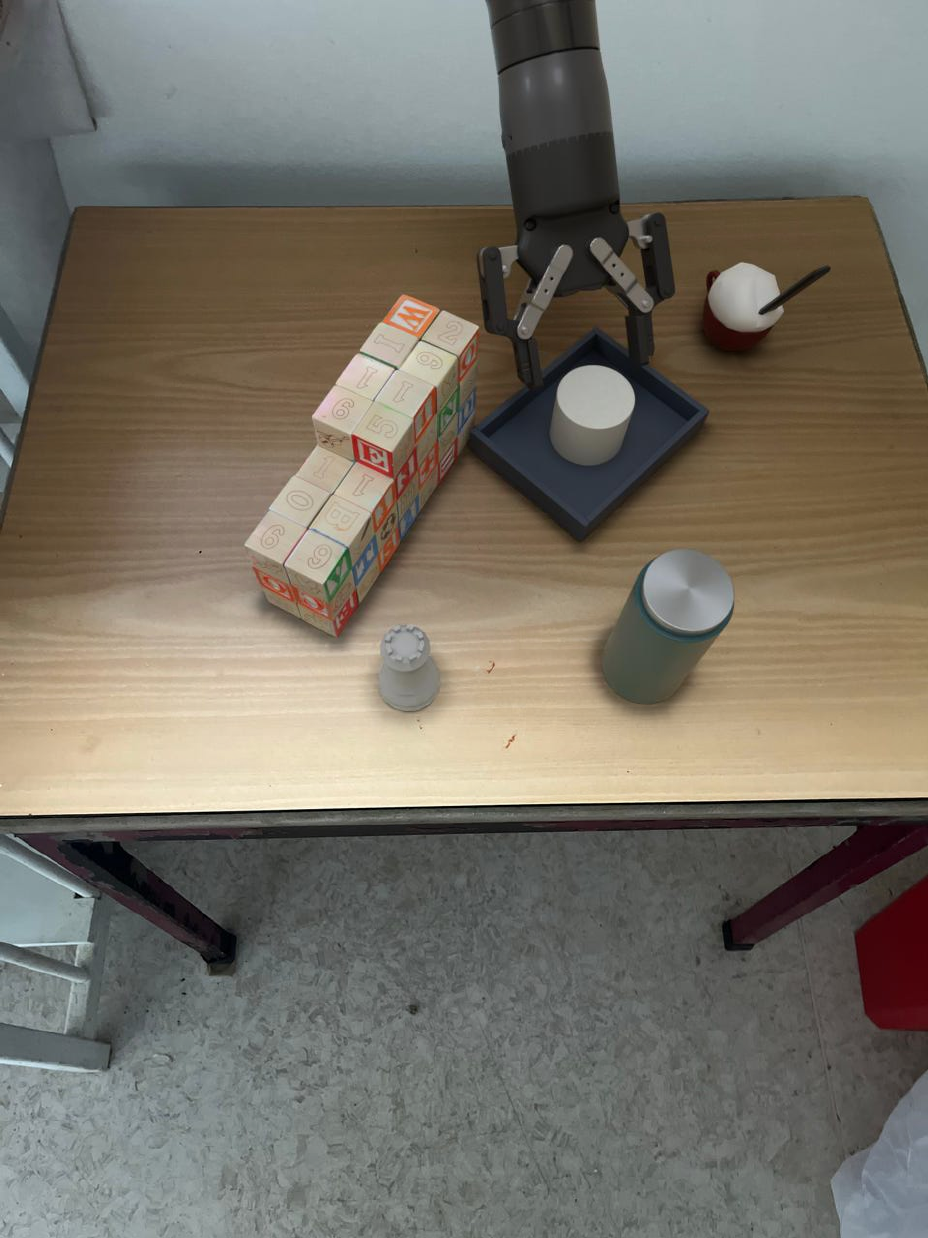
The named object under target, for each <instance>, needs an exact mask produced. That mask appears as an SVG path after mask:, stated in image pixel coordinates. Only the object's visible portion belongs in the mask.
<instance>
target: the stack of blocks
mask: <svg viewBox="0 0 928 1238" xmlns="http://www.w3.org/2000/svg"><path fill="white" fill-rule="evenodd" d="M479 344H480V326H479V325H478V324H475V323H474V322H470V321H468V320H466V319H464V318H461V317H459V316H457V315H455V314H453V313H451V312H448V311H446V310H442V311H441V310H440V308H438V307H436V306H434V305H431V304H429V303H427V302H425V301H423V300H419V299H418V298H415V297H413V296H410V295H407V294H404V293H403V294H401V296H400V297H399V298H398V299H397V301H396V302H395V303H394V305H393V306H392V308H391V309H390V310H389V311H388V313H387V314H386V316H385V317H384V318H383V319H382V321H381V322H379V323H378V324H377V325H376V326H375V328H373V330H372V332H371V333H370V335H369V336H368V338H367V339H366V340H365V341H364V343H363V345H362V346H361V348H360V349H359V353H356V354H355V355H354V356H353V357H352V359H351V360H350V361H349V363H348V365H346V367H345V369H344V370H343V371H342V373H341V374H340V375H339V377H338V378H337V379H336V382H335V384H334V386H333V387H332V388H331V389H330V390H329V392H328V393H327V395H326V396H325V397H324V398H323V400H322V401H321V403H320V404H319V406H318V407H317V409H316V410H315V411H314V413H313V414H312V415H311V419H312V424H313V429H314V435H315V440H316V443H317V444H316V446H315V447H314V448H313V449H312V450H311V452H310V454H309V455H308V456H307V457H306V459H305V460H304V462H303V463H302V465H301V466H300V467H299V468H298V469H297V471H296V472H295V475H293V476H291V478H290V479H289V480H288V482H287V483H286V484H285V485H284V487H283V488H282V490H281V491H280V492H279V493H278V495H277V496H276V498H275V499H274V501H273V502H272V503H271V505H270V506H269V507H268V511H267V513H266V514H265V515H264V516H263V518H262V519H261V520H260V522H259V523H258V525H257V526H256V527H255V528H254V529H253V531H252V533H251V534H250V535H249V536H248V538H247V540H246V541H245V542H244V544H243V546H244V549H245V552H246V553H247V556H248V558H249V561H250V563H251V565H252V566H251V567H252V570H253V572H254V574H255V576H256V579H257V581H258V583H259V585H260V587H261V589H262V591H263V593H264V595H265V597H266V599H267V602H268V603H270V604H272V605H274V606H275V607H277V608H279V609H282V610H284V611H285V612H287V613H288V614H289V613H290V614H291V615H293V616H294V617H297V618H298V619H301V620H302V621H304V622H306V623H307V624H309V625H310V626H313V627H314V628H317V629H319V630H321V631H322V632H325V633H327V634H329V635H332V636H333V637H336V638H337V637H339V635H340V634H341V632H342V630H343V629H344V627H345V626H346V625H347V623H348V621H349V620H350V619H351V617H352V615H353V613H354V612H355V610H356V608H357V607H358V605H360V604H361V603H362V602H363V600H364V599H365V598H366V596H367V594H368V593H369V591H370V590H371V588H372V586H373V585H374V584H375V582H376V581H377V579H378V578H379V576H380V574H381V573H382V571H383V570H384V568H385V567H386V566H387V564H388V563H389V561H390V559H391V558H392V557H393V555H394V554H395V552H396V550H397V549H398V547H399V546H400V542H401V541H402V539H403V538H404V537H405V536H406V533H407V532H408V531H409V530H410V528H411V527H412V525H413V524H414V522H415V520H416V519H417V518H418V516H419V513H420V512H421V511H422V509H423V508H424V507H425V505H426V503H427V502H428V500H429V499H430V497H431V496H432V494H433V493H434V491H435V490H436V488H437V486H438V485H440V484H441V482H442V481H443V480H444V478H445V476H447V473H448V472H449V470H450V469H451V467H452V466H453V465H454V463H455V462H456V460H457V459H458V456H460V454H461V453H462V452H463V450H464V449H465V447H466V445H467V444H468V443H469V440H470V431H471V430H472V429H473V428H474V427H475V426H476V410H477V409H476V400H477V396H476V395H477V383H478V375H479V361H480V360H479V358H480V357H479V356H480V355H479V346H480V345H479Z"/></svg>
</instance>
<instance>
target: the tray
mask: <svg viewBox="0 0 928 1238" xmlns="http://www.w3.org/2000/svg"><path fill="white" fill-rule="evenodd" d="M588 365H597V366H604V367H607V368H610V369H613V370H615V371H617V372H618V373H620V374H621V375H622V376H624V377H625V378H626V379H627V380H628V382H629V383H630V385H631V386H632V388H633V391H634V395H635V405H634V409H633V412H632V415H631V418H630V421H629V424H628V427H627V430H626V433H625V436H624V439H623V443H622V446H621V448H620V450H619V451H618V453H617V454H616V455H615V456H614V457H613V458H612V459H610V460H609V461H607V462H605V463H602V464H599V465H594V466H584V465H578V464H575V463H572V462H570V461H568V460H566V459H565V458H563V457H562V456H561V455H560V454H559V453H558V452H557V451H556V450H555V448H554V447H553V445H552V443H551V439H550V426H551V421H552V415H553V410H554V405H555V399H556V394H557V389H558V386H559V383H560V382H561V380H562V379H563V378H564V377H565V376H566V375H567V374H568V373H569V372H571V371H572V370H574V369H576V368H579V367H583V366H588ZM541 372H542V379H543V388H542V389H538V390H531V389H528V387H527V384H524V385H523V386H521V388H520V389H518V390H517V391H516V392H515V393H513V394H512V395H511V396H510V397H509V398H507V399H506V400H505V401H504V402H503V403H501V404H500V405H499V406H498V407H497V408H496V409H494V410H493V411H492V412H491V413H489V414H488V415H487V416H486V417H485V418H484V419H482V420H481V421H480V422H479V423H478V424H476V425H475V427H474V428H473V429H472V430H471V431H470V439H469V441H468V443H469V444H468V449H469V451H470V452H471V453H473V454H474V455H475V456H477V457H478V458H479V459H480V460H481V461H482V462H484V463H485V464H486V465H487V466H488V467H490V468H491V469H492V470H493V471H494V472H496V473H497V474H498V475H499V476H501V478H503V479H504V480H505V481H506V482H508V483H509V484H510V485H511V486H513V487H514V488H515V489H516V490H518V491H519V493H520V494H522V495H523V496H524V497H525V498H527V499H528V500H529V501H530V502H531V503H533V504H534V505H535V506H536V507H538V508H539V509H540V510H541V511H543V512H544V513H545V514H546V515H547V516H549V518H551V519H552V520H553V521H554V522H555V523H557V524H558V526H560V527H561V528H563V529H564V530H565V531H566V532H567V533H568V534H570V535H571V536H572V537H574V538H575V540H577V541H578V542H579V543H582V542H583V541H584V540H585V539H586V538H587V537H589V536H590V535H591V534H592V533H593V532H594V531H595V530H596V529H597V528H598V527H599V526H600V525H601V524H602V523H603V522H605V520H607V519H608V518H609V517H610V516H611V515H612V514H613V513H614V512H615V511H616V510H617V509H618V508H619V507H620V506H621V505H623V504H624V502H626V501H627V500H628V499H629V498H630V497H631V496H632V495H633V494H634V493H635V492H636V491H637V490H638V489H639V488H641V487H642V486H643V485H644V484H645V483H646V482H648V480H649V479H650V478H651V477H652V476H653V475H654V474H655V473H657V472H658V471H659V470H660V469H661V468H662V467H663V466H664V465H666V463H667V462H669V460H670V459H672V458H673V456H674V455H676V454H677V453H678V452H679V451H680V450H681V449H682V448H683V447H684V446H685V445H687V443H689V441H691V440H692V439H693V438H694V437H695V436H696V435H697V434H699V432H700V431H702V429H703V426H704V424H705V423H706V420H707V418H708V416H709V413H710V411H711V410H710V409H709V408H708V407H706V406H705V405H704V404H702V403H701V402H699V401H698V400H696V399H695V398H694V397H692V396H691V395H690V394H689V393H688V392H687V391H684V390H683V389H681V388H680V387H679V386H678V385H676V384H675V383H674V382H672V381H671V380H670V379H668V378H667V377H666V376H664V375H663V374H661V373H660V372H659V371H657V370H656V369H655V368H654V367H652V366H651V365H649V364H648V365H644V366H640V367H638V366H632V365H631V363H630V360H629V351H628V348H626V347H625V346H624V345H622V344H621V343H619V342H618V341H617V340H616V339H614V338H613V337H612V336H610V335H609V334H607V333H606V332H605V331H603V330H602V329H600V328H599V327H598V326H596V325H595V326H594V327H593V328H591V329H590V330H589V331H588V332H587V333H586V334H584V335H583V336H582V337H581V338H580V339H578V340H577V341H576V342H575V343H573V344H572V345H571V346H570V347H569V348H568V349H566V350H564V352H563V353H562V354H560V355H559V356H558V357H557V358H556V359H554V360H553V361H552V362H551V363H550V364H548V365H547V366H546V367H545V368H544V369H542V370H541Z"/></svg>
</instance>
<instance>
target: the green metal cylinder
mask: <svg viewBox="0 0 928 1238" xmlns="http://www.w3.org/2000/svg"><path fill="white" fill-rule="evenodd" d="M734 609H735V588H734V584H733V580H732V577H731V576H730V574H729V572H728V571H727V570H726V568H725V567H724V566H723V565H722V564H721V563H720V562H719V561H718V560H717V559H716V558H714V557H712V556H711V555H709V554H707V553H705V552H703V551H701V550H697V549H691V548H675V549H672V550H671V549H670V550H668V551H666V552H663V553H662V554H659V555H658V556H657V557H654V558H653V559H651V560H650V561H648V562H647V563H646V564H645V565H644V566H643V567H642V568H641V570H640V572H639V574H638V575H637V578H636V580H635V582H634V583H633V586H632V588H631V590H630V592H629V595H628V596H627V599H626V601H625V603H624V605H623V608H622V610H620V611H621V612H620V613H619V616H618V618H617V620H616V622H615V624H614V626H613V628H612V631H611V633H610V635H609V637H608V639H607V640H606V644H605V645H604V648H603V650H602V654H601V659H600V660H601V663H600V664H601V670H602V674H603V677H604V680H605V682H607V684H608V685H609V687H610V689H612V691H614V693H616V694H617V695H618V696H619V697H621V698H622V699H624V700H627V701H629V702H632V703H634V704H640V705H652V704H657V703H661V702H663V701H665V700H667V699H668V698H670V697H671V696H672V695H673V694H675V692H676V691H677V690H678V689H679V687H680V686H681V685H682V684H683V682H684V681H685V680H686V678H687V677H688V676H689V674H690V673H691V672H692V671H693V669H695V667H696V665H697V664H698V663H699V662H700V660H701V659H702V658H703V657H704V655H705V654H706V653H707V652H708V650H709V649H710V648H711V646H712V645H713V644H714V642H716V640H717V638H718V637H719V636H720V635H721V633H723V631H724V630H725V629H726V627H727V626H728V625H729V623H730V621H731V619H732V616H733V614H734Z"/></svg>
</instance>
